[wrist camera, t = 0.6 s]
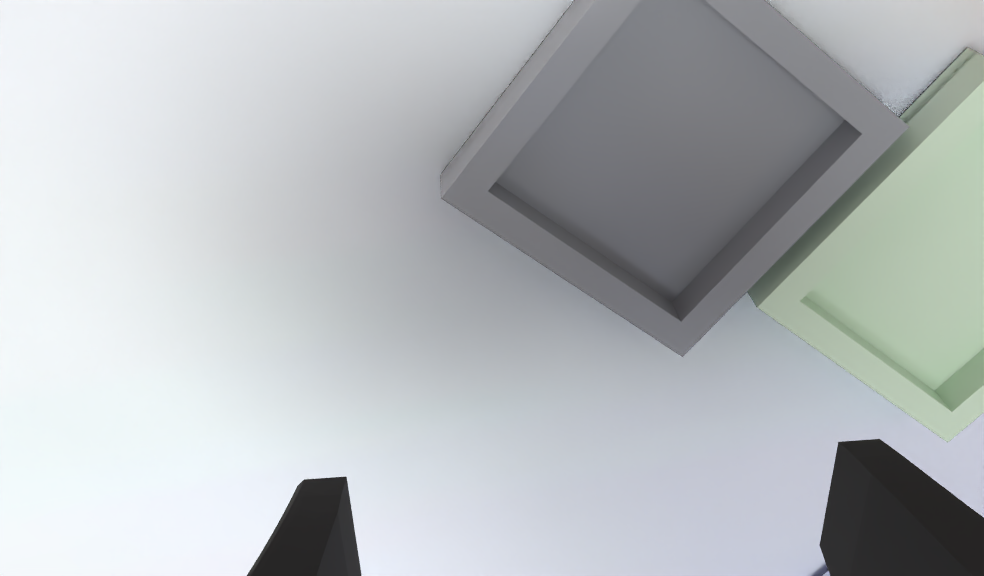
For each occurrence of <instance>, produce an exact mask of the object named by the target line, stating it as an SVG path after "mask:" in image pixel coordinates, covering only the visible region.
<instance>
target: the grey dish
mask: <svg viewBox="0 0 984 576" xmlns="http://www.w3.org/2000/svg"><path fill="white" fill-rule="evenodd" d="M908 128H909V126H908V125H907V124H906V123H904V122H903V121H902V120H901V119H900V118H899V117H898V116H896V115H895V114H894V113H893V112H892V111H891V110H890V109H888V108H887V107H886V106H885V105H884V104H883V103H882V102H880V101H879V100H878V99H877V98H876V97H875V96H874V95H872V94H871V93H870V92H869V91H868V90H867V89H866V88H864V87H863V86H862V85H861V84H860V83H859V82H858V81H856V80H855V79H854V78H853V77H852V76H851V75H850V74H848V73H847V72H846V71H845V70H844V69H843V68H842V67H840V66H839V65H838V64H837V63H836V62H835V61H834V60H832V59H831V58H830V57H829V56H828V55H827V54H826V53H824V52H823V51H822V50H821V49H820V48H819V47H818V46H817V45H815V44H814V43H813V42H812V41H811V40H810V39H809V38H807V37H806V36H805V35H804V34H803V33H802V32H801V31H799V30H798V29H797V28H796V27H795V26H794V25H793V24H791V23H790V22H789V21H788V20H787V19H786V18H785V17H783V16H782V15H781V14H780V13H779V12H778V11H777V10H775V9H774V8H773V7H772V6H771V5H770V4H769V3H767V2H766V1H765V0H574V2H573V3H572V4H571V6H570V7H569V8H568V9H567V11H566V12H565V13H564V15H563V16H562V17H561V19H560V20H559V21H558V22H557V24H556V25H555V26H554V28H553V29H552V30H551V32H550V33H549V34H548V35H547V37H546V38H545V39H544V41H543V42H542V43H541V45H540V46H539V47H538V48H537V50H536V51H535V52H534V54H533V55H532V56H531V58H530V59H529V60H528V62H527V63H526V64H525V65H524V67H523V68H522V69H521V71H520V72H519V73H518V75H517V76H516V77H515V78H514V80H513V81H512V82H511V84H510V85H509V86H508V88H507V89H506V90H505V91H504V93H503V94H502V95H501V97H500V98H499V99H498V101H497V102H496V103H495V104H494V106H493V107H492V108H491V110H490V111H489V112H488V114H487V115H486V116H485V117H484V119H483V120H482V121H481V123H480V124H479V125H478V127H477V128H476V129H475V130H474V132H473V133H472V134H471V136H470V137H469V138H468V140H467V141H466V142H465V144H464V145H463V146H462V147H461V149H460V150H459V151H458V153H457V154H456V155H455V157H454V158H453V159H452V160H451V162H450V163H449V164H448V166H447V167H446V168H445V170H444V171H443V172H442V173H441V175H440V178H441V199H443V200H444V201H446V202H447V203H449V204H450V205H452V206H453V207H455V208H457V209H458V210H460V211H461V212H463V213H464V214H466V215H467V216H469V217H470V218H472V219H473V220H475V221H476V222H478V223H479V224H481V225H482V226H484V227H485V228H487V229H489V230H490V231H492V232H493V233H495V234H496V235H498V236H499V237H501V238H502V239H504V240H505V241H507V242H508V243H510V244H511V245H513V246H514V247H516V248H517V249H519V250H521V251H522V252H524V253H525V254H527V255H528V256H530V257H531V258H533V259H534V260H536V261H537V262H539V263H540V264H542V265H543V266H545V267H546V268H548V269H549V270H551V271H553V272H554V273H556V274H557V275H559V276H560V277H562V278H563V279H565V280H566V281H568V282H569V283H571V284H572V285H574V286H575V287H577V288H578V289H580V290H581V291H583V292H585V293H586V294H588V295H589V296H591V297H592V298H594V299H595V300H597V301H598V302H600V303H601V304H603V305H604V306H606V307H607V308H609V309H610V310H612V311H613V312H615V313H616V314H618V315H620V316H621V317H623V318H624V319H626V320H627V321H629V322H630V323H632V324H633V325H635V326H636V327H638V328H639V329H641V330H642V331H644V332H645V333H647V334H648V335H650V336H652V337H653V338H655V339H656V340H658V341H659V342H661V343H662V344H664V345H665V346H667V347H668V348H670V349H671V350H673V351H674V352H676V353H677V354H679V355H680V356H682V357H683V356H684V355H685V354H686V353H687V352H688V351H689V350H690V349H691V348H692V347H693V346H694V345H695V344H696V343H697V342H698V341H699V340H700V339H701V338H702V337H703V336H704V335H705V334H706V333H707V332H708V331H709V330H710V329H711V328H712V327H713V326H714V325H715V324H716V323H717V322H718V320H719V319H720V318H721V317H722V316H723V315H724V314H725V313H726V312H727V311H728V310H729V309H730V308H731V307H732V306H733V305H734V304H735V303H736V302H737V301H738V300H739V299H740V298H741V297H742V296H743V295H744V294H745V293H746V292H747V291H748V290H749V289H750V288H751V287H752V286H753V285H754V284H755V283H756V282H757V281H758V280H759V279H760V278H761V277H762V276H763V275H764V274H765V273H766V272H767V271H768V270H769V269H770V268H771V267H772V266H773V265H774V264H775V263H776V262H777V261H778V260H779V259H780V258H781V257H782V256H783V255H784V254H785V253H786V251H787V250H788V249H789V248H790V247H791V246H792V245H793V244H794V243H795V242H796V241H797V240H798V239H799V238H800V237H801V236H802V235H803V234H804V233H805V232H806V231H807V230H808V229H809V228H810V227H811V226H812V225H813V224H814V223H815V222H816V221H817V220H818V219H819V218H820V217H821V216H822V215H823V214H824V213H825V212H826V211H827V210H828V209H829V208H830V207H831V206H832V205H833V204H834V203H835V202H836V201H837V200H838V199H839V198H840V197H841V196H842V195H843V194H844V193H845V192H846V191H847V190H848V189H849V188H850V187H851V186H852V185H853V184H854V182H855V181H856V180H857V179H858V178H859V177H860V176H861V175H862V174H863V173H864V172H865V171H866V170H867V169H868V168H869V167H870V166H871V165H872V164H873V163H874V162H875V161H876V160H877V159H878V158H879V157H880V156H881V155H882V154H883V153H884V152H885V151H886V150H887V149H888V148H889V147H890V146H891V145H892V144H893V143H894V142H895V141H896V140H897V139H898V138H899V137H900V136H901V135H902V134H903V133H904V132H905V131H906V130H907V129H908Z"/></svg>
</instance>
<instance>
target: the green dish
mask: <svg viewBox="0 0 984 576" xmlns="http://www.w3.org/2000/svg"><path fill="white" fill-rule="evenodd" d="M899 118H900V119H901V120H902V121H903V122H904V123H906V124H907V125H908V126H909V128H908V129H907V130H906V131H905V132H904V133H903V134H902V135H901V136H900V137H899V138H898V139H897V140H896V141H895V142H894V143H893V144H892V145H891V146H890V147H889V148H888V149H887V150H886V151H885V152H884V153H883V154H882V155H881V156H880V157H879V158H878V159H877V160H876V161H875V162H874V163H873V164H872V165H871V166H870V167H869V168H868V169H867V170H866V171H865V172H864V173H863V174H862V175H861V176H860V177H859V178H858V179H857V180H856V181H855V182H854V184H853V185H852V186H851V187H850V188H849V189H848V190H847V191H846V192H845V193H844V194H843V195H842V196H841V197H840V198H839V199H838V200H837V201H836V202H835V203H834V204H833V205H832V206H831V207H830V208H829V209H828V210H827V211H826V212H825V213H824V214H823V215H822V216H821V217H820V218H819V219H818V220H817V221H816V222H815V223H814V224H813V225H812V226H811V227H810V228H809V229H808V230H807V231H806V232H805V233H804V234H803V235H802V236H801V237H800V238H799V239H798V240H797V241H796V242H795V243H794V244H793V245H792V246H791V247H790V248H789V249H788V250H787V251H786V253H785V254H784V255H783V256H782V257H781V258H780V259H779V260H778V261H777V262H776V263H775V264H774V265H773V266H772V267H771V268H770V269H769V270H768V271H767V272H766V273H765V274H764V275H763V276H762V277H761V278H760V279H759V280H758V281H757V282H756V283H755V284H754V285H753V286H752V287H751V288H750V289H749V290H748V291H747V292H748V294H749V295H750V297H751V298H752V300H753V302H754V303H755V305H756V307H757V308H758V309H760V310H761V311H763V312H764V313H765V314H767V315H768V316H770V317H771V318H773V319H774V320H775V321H777V322H778V323H780V324H781V325H782V326H784V327H785V328H787V329H788V330H789V331H791V332H792V333H794V334H795V335H797V336H798V337H799V338H801V339H802V340H804V341H805V342H806V343H808V344H809V345H811V346H812V347H813V348H815V349H816V350H818V351H819V352H821V353H822V354H823V355H825V356H826V357H828V358H829V359H830V360H832V361H833V362H835V363H836V364H837V365H839V366H840V367H842V368H843V369H845V370H846V371H847V372H849V373H850V374H852V375H853V376H854V377H856V378H857V379H859V380H860V381H861V382H863V383H864V384H866V385H867V386H868V387H870V388H871V389H873V390H874V391H876V392H877V393H878V394H880V395H881V396H883V397H884V398H885V399H887V400H888V401H890V402H891V403H892V404H894V405H895V406H897V407H898V408H900V409H901V410H902V411H904V412H905V413H907V414H908V415H909V416H911V417H912V418H914V419H915V420H916V421H918V422H919V423H921V424H922V425H924V426H925V427H926V428H928V429H929V430H931V431H932V432H933V433H935V434H936V435H938V436H939V437H940V438H942V439H943V440H945V441H946V442H949V441H950V440H951V439H953V438H954V437H955V436H956V435H957V434H959V433H960V432H961V431H962V430H963V429H965V428H966V427H967V426H968V425H969V424H971V423H972V422H973V421H974V420H975V419H976V418H978V417H979V416H980V415H981V414H982V413H984V55H982V54H980V53H978V52H976V51H974V50H972V49H970V48H967V49H966V50H965V51H964V52H963V53H962V54H961V55H960V56H959V57H958V58H957V59H956V60H955V61H954V62H953V63H952V64H951V65H950V66H949V67H948V68H947V69H946V70H945V71H944V72H943V73H942V74H941V75H940V76H939V77H938V78H937V79H936V80H935V81H934V82H933V83H932V84H931V85H930V86H929V87H928V89H927V90H926V91H925V92H924V93H923V94H922V95H921V96H920V97H919V98H918V99H917V100H916V101H915V102H914V103H913V104H912V105H911V106H910V107H909V108H908V109H907V110H906V111H905V112H904V113H903V114H902V115H901V116H900V117H899Z"/></svg>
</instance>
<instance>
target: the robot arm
mask: <svg viewBox="0 0 984 576" xmlns="http://www.w3.org/2000/svg"><path fill="white" fill-rule="evenodd" d="M820 547H821V550H822V553H823V556H824V559H825V562H826V565H827V568H828V571H827V572H826V573H825V574H824V575H822V576H984V518H983V517H982V516H981V515H979V514H978V513H977V512H975V511H974V510H973V509H971V508H970V507H969V506H967V505H966V504H965V503H963V502H962V501H961V500H959V499H958V498H957V497H955V496H954V495H953V494H952V493H950V492H949V491H948V490H946V489H945V488H944V487H942V486H941V485H940V484H938V483H937V482H936V481H935V480H933V479H932V478H931V477H929V476H928V475H927V474H925V473H924V472H923V471H922V470H920V469H919V468H918V467H916V466H915V465H914V464H912V463H911V462H910V461H909V460H907V459H906V458H905V457H903V456H902V455H901V454H899V453H898V452H897V451H895V450H894V449H893V448H891V447H890V446H888V445H887V444H886V443H884V442H883V441H882V440H880V439H874V440H860V441H845V442H838V448H837V453H836V459H835V464H834V470H833V475H832V481H831V486H830V492H829V497H828V502H827V508H826V513H825V519H824V524H823V530H822V535H821V541H820ZM247 576H361V570H360V563H359V556H358V550H357V543H356V537H355V530H354V524H353V517H352V511H351V504H350V497H349V491H348V484H347V478H346V477H335V478H321V479H307V480H303V481H302V482H301V483H300V484H299V485H298V486H297V488H296V490H295V492H294V494H293V496H292V498H291V500H290V502H289V504H288V506H287V508H286V510H285V512H284V514H283V516H282V517H281V519H280V521H279V523H278V525H277V526H276V528H275V530H274V532H273V534H272V535H271V537H270V539H269V540H268V542H267V544H266V546H265V547H264V549H263V551H262V552H261V554H260V556H259V557H258V559H257V560H256V562H255V564H254V565H253V567H252V568H251V570H250V571H249V573H248V575H247Z"/></svg>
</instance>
